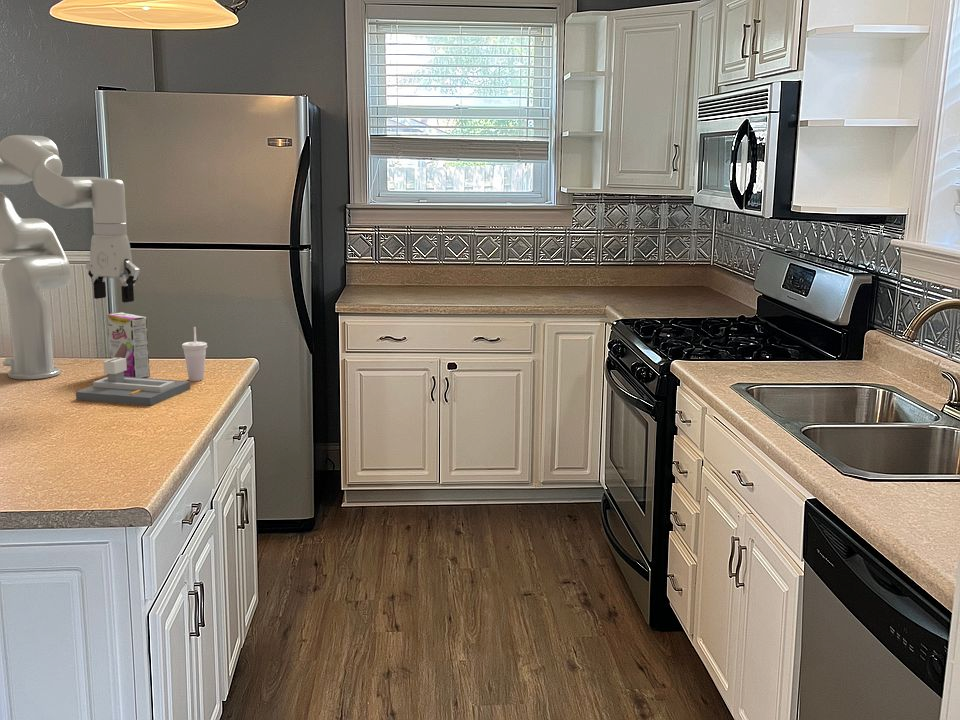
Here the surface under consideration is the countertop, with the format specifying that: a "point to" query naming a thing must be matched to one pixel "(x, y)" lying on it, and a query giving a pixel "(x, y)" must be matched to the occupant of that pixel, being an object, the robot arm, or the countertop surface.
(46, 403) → the countertop surface
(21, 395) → the countertop surface
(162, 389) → the board
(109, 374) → the fader knob
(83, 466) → the countertop surface
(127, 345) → the candy bar box
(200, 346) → the smoothie
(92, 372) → the countertop surface
